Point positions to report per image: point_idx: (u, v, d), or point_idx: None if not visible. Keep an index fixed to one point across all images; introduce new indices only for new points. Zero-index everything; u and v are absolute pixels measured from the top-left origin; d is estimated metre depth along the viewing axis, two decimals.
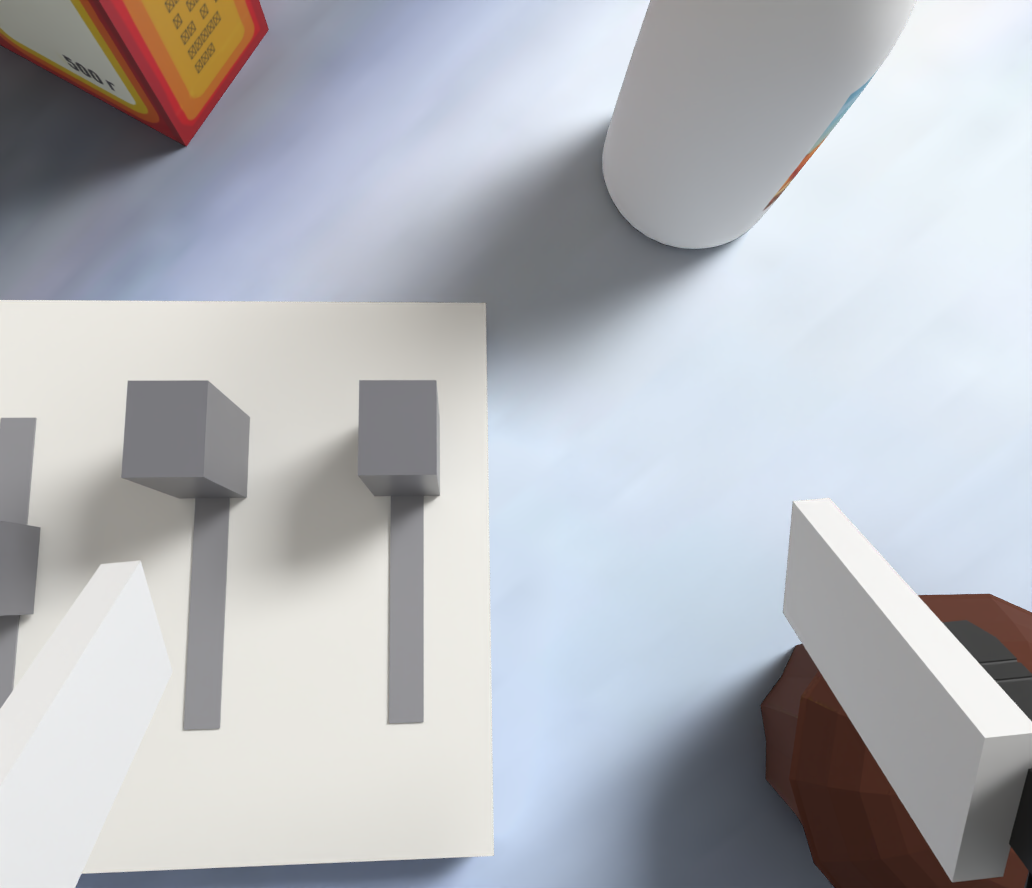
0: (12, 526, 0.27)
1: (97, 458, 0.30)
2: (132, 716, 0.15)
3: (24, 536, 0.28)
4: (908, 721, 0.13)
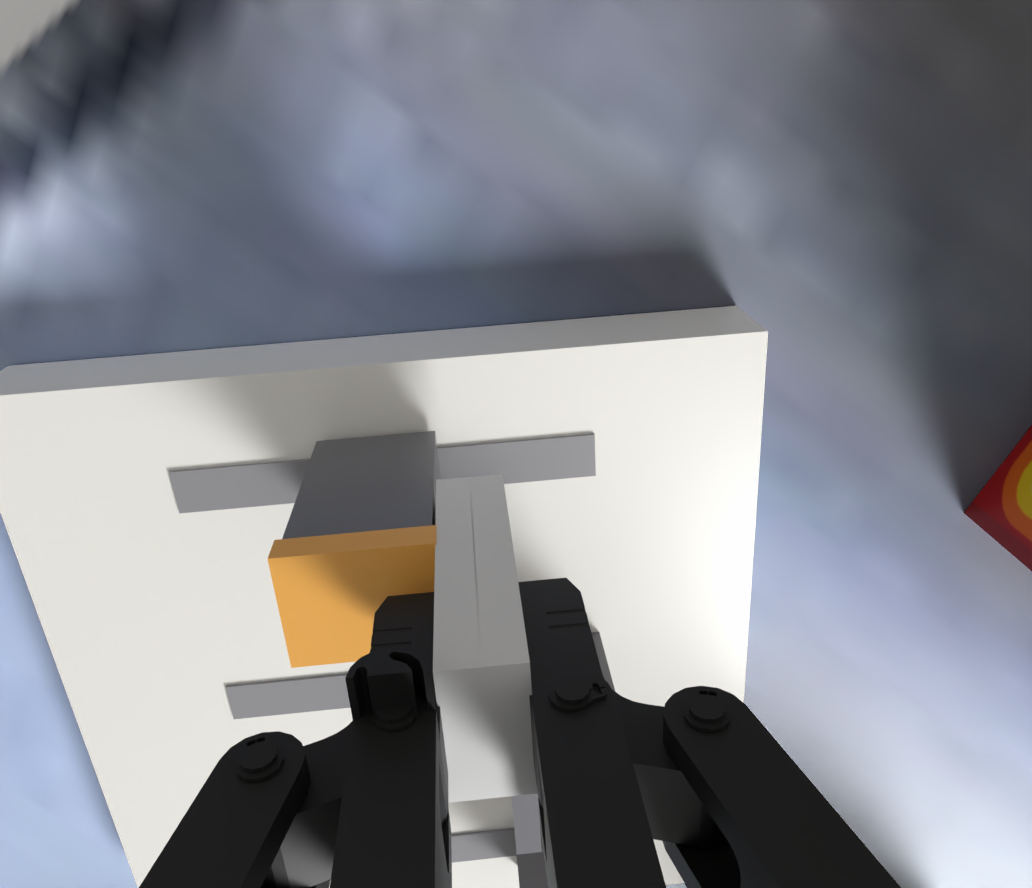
0: None
1: (544, 550, 0.23)
2: None
3: None
4: None
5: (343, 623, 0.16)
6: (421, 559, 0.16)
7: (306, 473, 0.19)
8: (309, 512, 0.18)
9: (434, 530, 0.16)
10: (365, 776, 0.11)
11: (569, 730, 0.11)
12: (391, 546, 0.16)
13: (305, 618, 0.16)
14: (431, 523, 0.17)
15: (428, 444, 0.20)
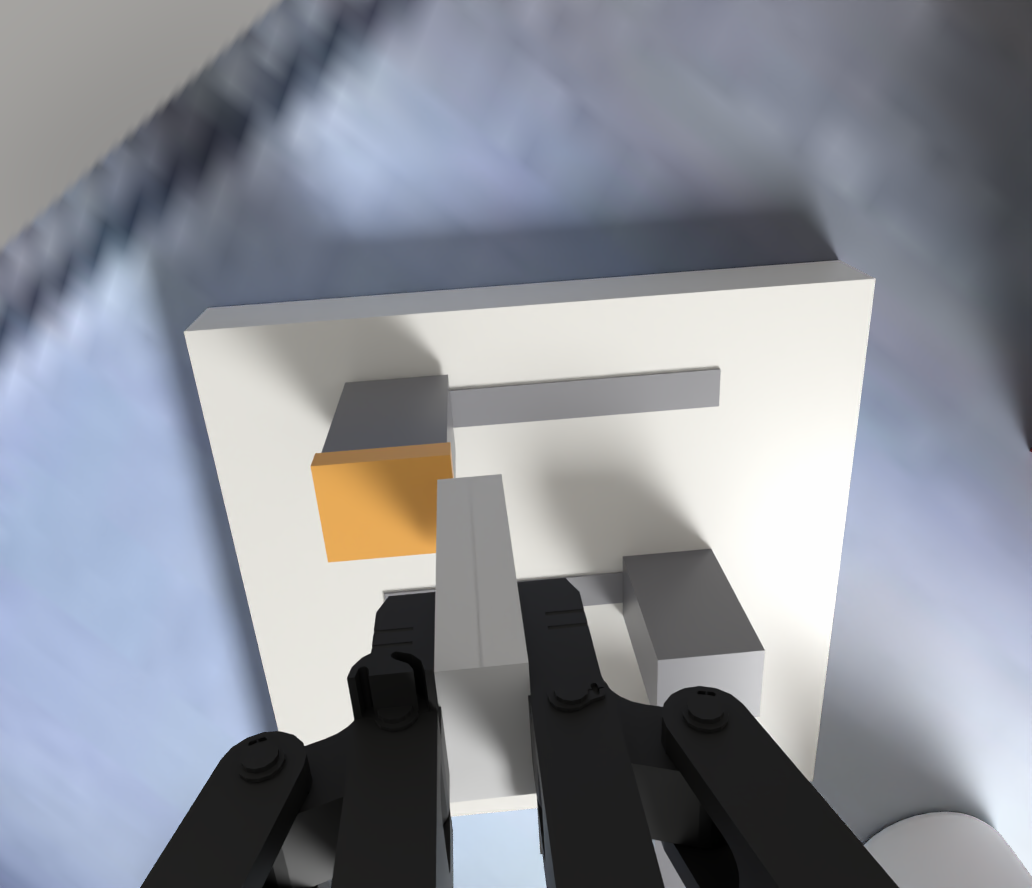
0: None
1: (669, 474, 0.26)
2: None
3: None
4: None
5: (372, 524, 0.20)
6: (438, 468, 0.19)
7: (338, 406, 0.22)
8: (342, 434, 0.21)
9: (449, 446, 0.20)
10: (366, 776, 0.11)
11: (568, 730, 0.11)
12: (413, 457, 0.19)
13: (340, 519, 0.20)
14: (446, 442, 0.20)
15: (443, 384, 0.24)
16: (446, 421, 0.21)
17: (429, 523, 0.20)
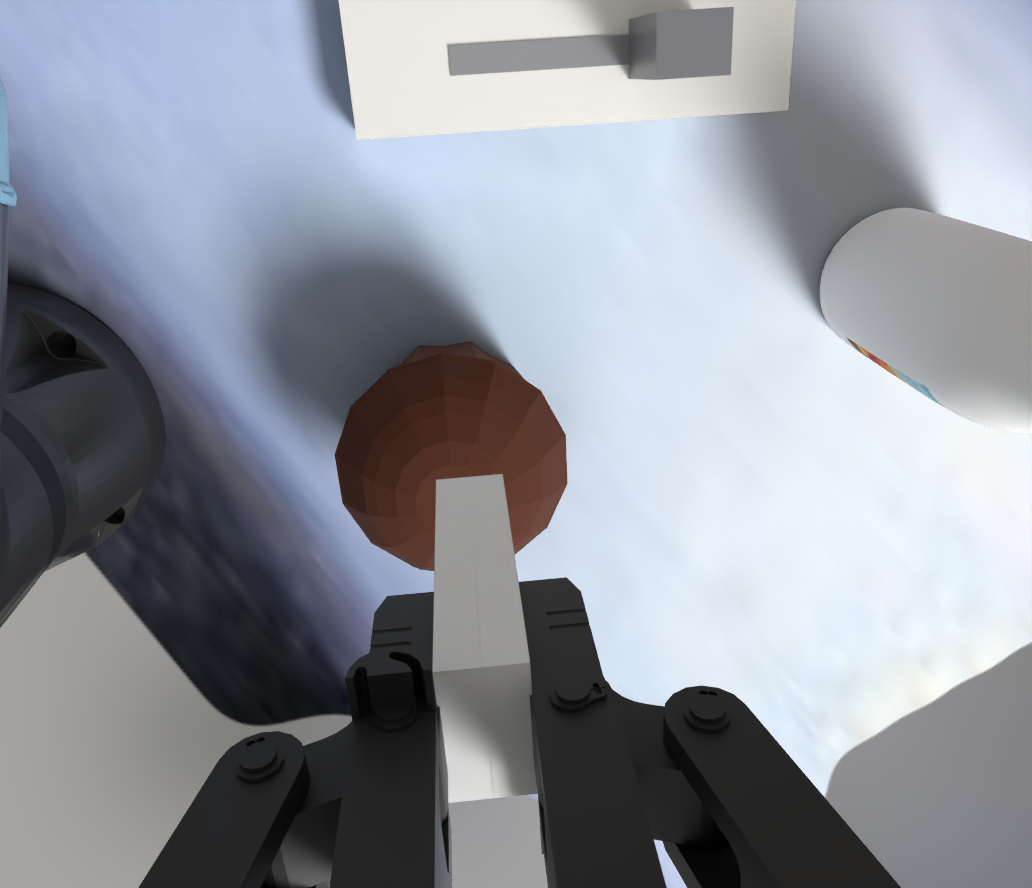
0: None
1: None
2: None
3: None
4: None
5: None
6: None
7: None
8: None
9: None
10: (365, 776, 0.11)
11: (569, 730, 0.11)
12: None
13: None
14: None
15: None
16: None
17: None
